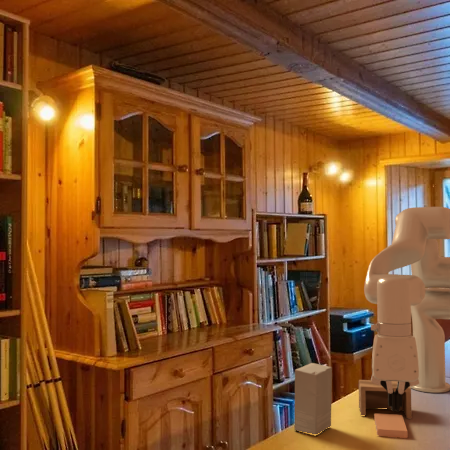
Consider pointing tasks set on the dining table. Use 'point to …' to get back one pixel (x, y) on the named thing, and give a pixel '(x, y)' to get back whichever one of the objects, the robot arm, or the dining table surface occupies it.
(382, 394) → the tan open box
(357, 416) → the dining table surface
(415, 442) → the dining table surface
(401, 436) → the terracotta tile
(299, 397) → the skincare box
